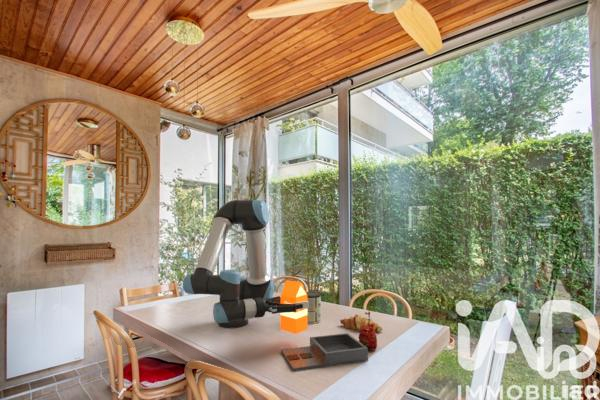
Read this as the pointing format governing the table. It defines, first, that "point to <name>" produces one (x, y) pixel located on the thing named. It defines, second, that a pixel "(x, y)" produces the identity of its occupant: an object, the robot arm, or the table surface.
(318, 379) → the table surface
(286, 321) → the orange juice
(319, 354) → the tray
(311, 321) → the coffee can
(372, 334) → the red clay folk toy
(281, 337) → the table surface
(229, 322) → the robot arm
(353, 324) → the croissant
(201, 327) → the table surface
